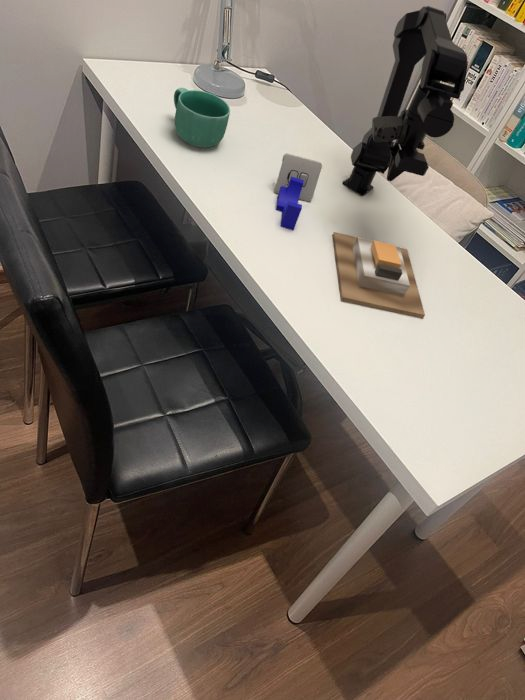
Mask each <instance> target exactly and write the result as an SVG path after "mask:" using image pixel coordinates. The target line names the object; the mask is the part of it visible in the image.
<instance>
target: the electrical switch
mask: <svg viewBox="0 0 525 700" xmlns="http://www.w3.org/2000/svg"><path fill="white" fill-rule="evenodd" d="M322 168H323V164H322V162H320V161H317V160H314V159H310V158H306V157H302V156H299V155H294V154H293V153H292V154H291V153H287V152H286V153H284V154H283V155H282V160H281V167H280V168H279V169H280V170H279V173H278V176H277V179H276V184H275V185H274V189H273V191H274V193H275V194H277V195H278V194H279V191H280V188H281V186H283V187H287V186H288V184H289V181H290V179H291V177H295V178H298V179H301V180H304V184H303V186H302V189H301V193H300V196H299V200H302V201H305V202H311V201H313V197H314V195H315V191H316V188H317V185H318V182H319V177H320V176H321V172H322V171H321V170H322Z"/></svg>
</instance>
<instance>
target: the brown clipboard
mask: <svg viewBox="0 0 525 700" xmlns="http://www.w3.org/2000/svg"><path fill="white" fill-rule="evenodd" d="M331 237H332V244H333V249H334V251H333V252H334V258H335V259H334V260H335V267H336V271H337V272H336V274H337V281H338V289H339V295H340V296H339V297H340V301H341V302H345V303H350V304H353V305H358V306H363V307H368V308H372V309H378V310H382V311H386V312H392V313H397V314H401V315H405V316H411V317H414V318H415V317H416V318H420V319H424V318H425V316H426V313H425V310H424V307H423V303H422V298H421V295H420V292H419V289H418V285H417V280H416V276H415V273H414V269H413V267H412V263H411V258H410V255H409V252H408V251H409V250H408V249H407V248H404V247H400V246H397V245H395V246H396V249H397V252H398V255H399V258H400V261H401V264H402V265H401V267H400V269H399V268H395V267H390V266H386V265H382V264H378V266H377V265H376V263H375V259H374V256H373V252H372V248H371V245H372V243H373V241H374V240H371V239H367V238H362V237H359V236H353V235H349V234H345V233H341V232H340V233H339V232H335V231H333V233H332V236H331Z"/></svg>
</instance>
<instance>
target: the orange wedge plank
mask: <svg viewBox="0 0 525 700" xmlns="http://www.w3.org/2000/svg"><path fill="white" fill-rule="evenodd" d="M372 241H373V243H372V245H371V248H372V252H373V256H374V259H375V263H376V265H377V266H378V264H382V265H386V266H390V267H395V268H399V269H400V267H401V265H402V264H401V261H400V258H399V255H398V252H397V249H396V246H397V245H394V244H391V243H387V242H381V241H377V240H372Z"/></svg>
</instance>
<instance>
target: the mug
mask: <svg viewBox="0 0 525 700" xmlns="http://www.w3.org/2000/svg"><path fill="white" fill-rule="evenodd" d="M173 103H174V104H173V105H174V107H175V113H174V114H175V115H174V129H175V131H176V133H177V135H178V136H179V137H180V139H182V140H183V141H185V143H187V144H189V145H191V146H193V147H197V148H209V147H214V146H216V145H218V144H220V142H221V141H222V140H223V139H224V136H225V135H226V132H227V127H228V123H229V119H230V115H231V109H230V106H229V104H228V102H226V101H225V100H224V99H223V98H221V97H219V96H218V95H216V94H213V93H210V92H208V91H203V90H197V89H196V90H195V89H190V90H188V89H187V88H185V87H179V88H177V89H176V90H175V91H174V93H173Z"/></svg>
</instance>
